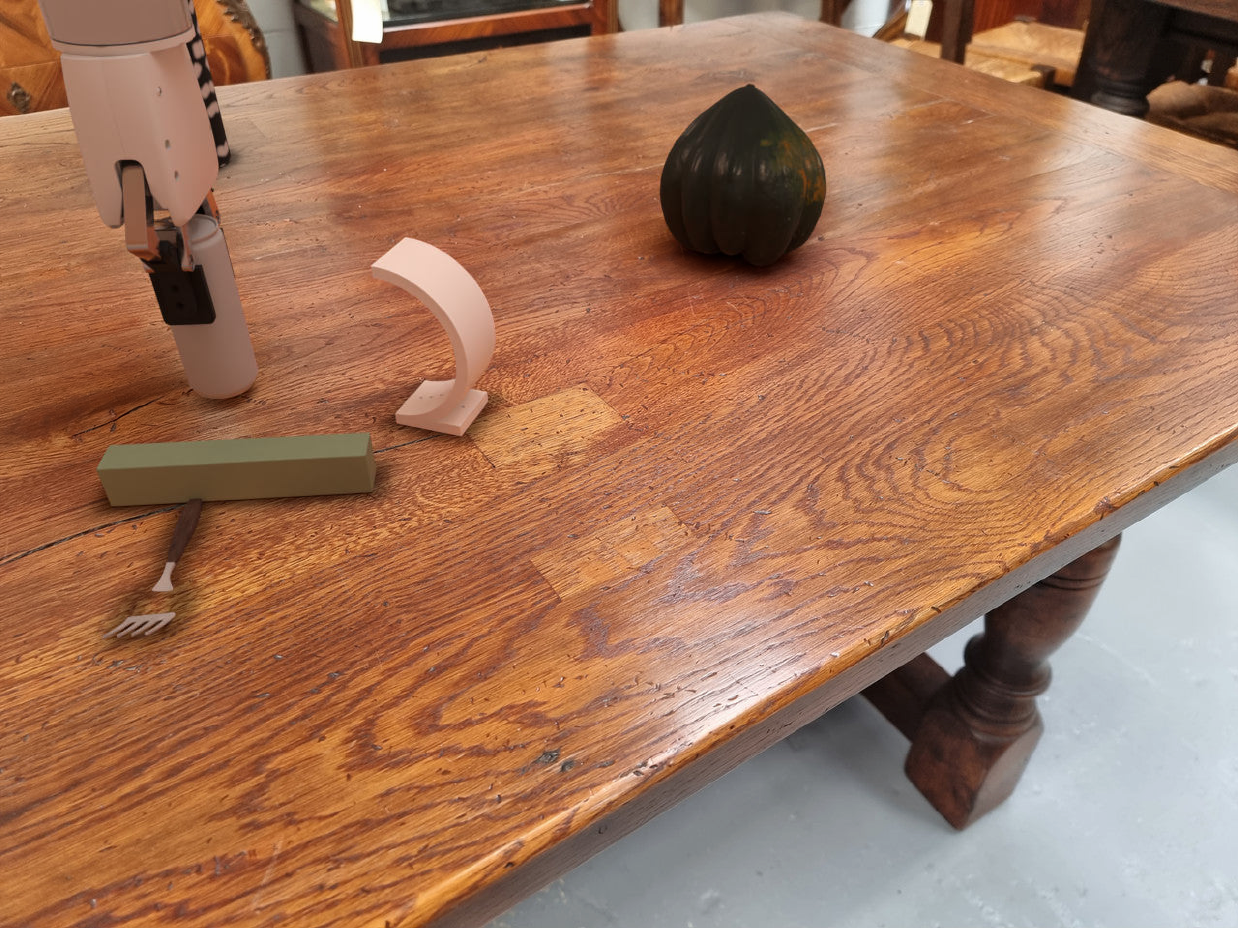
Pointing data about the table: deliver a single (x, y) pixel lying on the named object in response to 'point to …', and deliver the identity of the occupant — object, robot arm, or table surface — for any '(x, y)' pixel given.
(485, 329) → the headphone stand
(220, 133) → the spotted tube
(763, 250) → the squash
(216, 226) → the beverage can
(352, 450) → the rail
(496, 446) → the table surface
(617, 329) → the table surface
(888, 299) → the table surface
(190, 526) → the fork
